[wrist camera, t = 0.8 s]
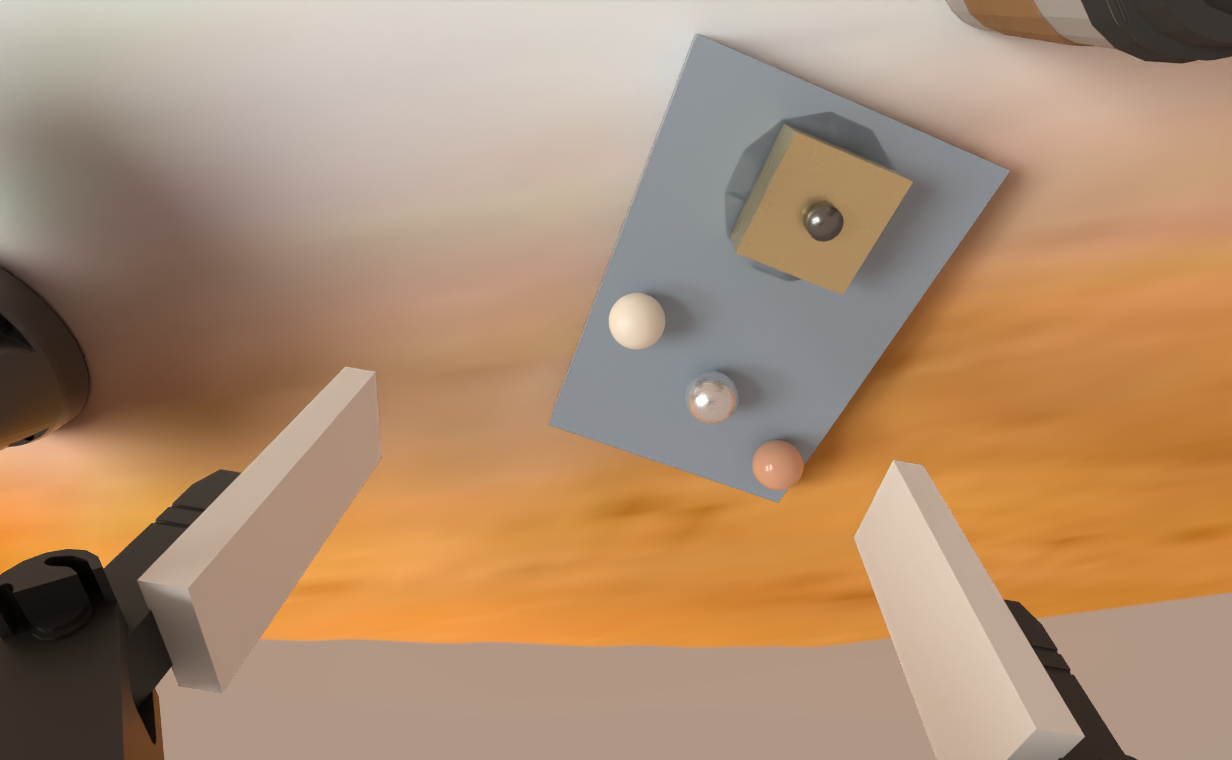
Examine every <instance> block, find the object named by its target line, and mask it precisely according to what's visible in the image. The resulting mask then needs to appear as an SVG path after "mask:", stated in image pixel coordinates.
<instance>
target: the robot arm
mask: <svg viewBox="0 0 1232 760" xmlns="http://www.w3.org/2000/svg"><path fill="white" fill-rule="evenodd" d="M88 391H89V379H88V372H87V368H86V364H85V362H84V359H83V356H82V354H81V351H80V349H79V347H78V345H77V344H76V342H75V340H74V338H73V337H72V335H71V334H70V332H69V331H68V329H67V328H66V326H65V325H64V324H63V322H62V321H61V320H60V319H59V317H58V316H57V315H56V314H55V313H54V312H53V311H52V309H51V308H50V307H49V306H48V305H47V304H46V303H45V302H44V301H43V300H42V299H41V298H40V297H39V296H38V295H36V294H35V293H34V292H33V291H32V290H31V289H29V288H28V287H27V286H26V285H25V284H23V283H22V282H21V281H19V280H18V279H17V278H15V277H14V276H12V275H11V274H10V273H8V272H6V271H5V270H3V269H2V268H0V450H2V449H5V448H7V447H12V446H19V445H24V444H27V443H31V442H34V441H36V440H39V439H41V438H43V437H45V436H47V435H49V434H50V433H52V432H54V431H55V430H57V429H58V428H60V427H61V426H63V425H64V424H66V423H68V422H69V421H71V420H72V419H73V418H75V417H76V416H77V415H78V414H79V413H80V412H81V410H82V409H83V407H84V405H85V403H86V401H87V397H88ZM381 458H382V457H381V442H380V427H379V412H378V398H377V383H376V372H375V371H369V370H363V369H357V368H352V367H346V366H345V367H344V368H343V369H342V370H341V371H340V372H339V373H338V374H337V375H336V376H335V377H334V378H333V379H332V380H331V381H330V383H329V384H328V385H327V386H326V387H325V388H324V389H323V390H322V391H321V392H320V393H319V394H318V395H317V396H316V397H315V398H314V399H313V400H312V401H311V402H310V403H309V404H308V405H307V406H306V407H305V408H304V409H303V410H302V411H301V412H300V413H299V414H298V415H297V416H296V417H295V418H294V420H293V421H292V422H291V423H290V424H289V425H288V426H287V427H286V428H285V429H284V430H283V431H282V432H281V433H280V434H279V435H278V436H277V437H276V438H275V439H274V440H273V441H272V442H271V443H270V444H269V445H268V446H267V447H266V448H265V449H264V450H263V451H262V452H261V453H260V454H259V455H258V457H257V458H256V459H255V460H254V461H253V462H252V463H251V464H250V465H249V466H248V467H247V468H246V469H245V470H244V471H243V472H242V473H239V472H233V471H227V470H221V469H220V470H218V471H216V472H215V473H213V474H211V475H209V476H207V477H205V478H203V479H202V480H200V481H198V482H196V483H194V484H193V485H192V486H190V487H189V488H188V489H187V490H186V491H185V492H184V493H183V494H182V495H181V496H180V497H179V498H178V499H177V500H176V501H175V502H174V503H173V505H172V507H168V508H167V509H166V510H165V511H164V512H163V513H162V514H161V515H160V516H159V517H158V518H157V519H156V522H155V523H151V524H150V525H149V526H148V527H147V528H146V529H145V530H144V531H143V532H142V533H141V534H140V535H139V536H138V537H137V538H135V539H134V540H133V541H132V542H131V543H130V544H129V545H128V546H127V547H126V548H125V549H124V550H123V551H122V552H121V553H120V554H119V555H118V556H116V557H115V558H114V559H113V560H112V561H111V562H110V563H109V564H108V565H107V566H106V567H105V568H104V569H103V567H102V565H101V562H100V560H99V558H98V556H96V555H94V554H92V553H90V552H88V551H86V550H74V549H65V550H59V551H53V552H48V553H44V554H41V555H38V556H36V557H33V558H30V559H28V560H25V561H22V562H21V563H19V564H17V565H16V566H14V567H12V568H11V569H9V570H7V571H5V572H4V573H2V574H1V575H0V760H164V752H163V741H162V729H161V718H160V706H159V697H158V694H157V692H156V689H155V687H156V685H157V684H158V683H159V681H160V680H161V679H162V678H163V676H164V675H165V674H166V673H167V671H168V670H169V669H170V668H171V667H172V670H173V672H174V675H175V677H176V680H177V682H178V685H179V686H181V687H187V688H193V689H200V690H205V691H212V692H218V693H223V692H224V690H225V689H226V688H227V686H228V685H229V683H230V682H231V680H232V679H233V677H234V676H235V674H236V673H237V671H238V670H239V668H240V667H241V665H242V664H243V662H244V661H245V659H246V658H247V656H248V655H249V653H250V652H251V650H252V649H253V648H254V646H255V645H256V643H257V642H258V640H259V639H260V637H261V636H262V634H263V633H264V631H265V630H266V628H267V627H268V625H269V624H270V622H271V621H272V619H273V618H274V616H275V615H276V614H277V612H278V611H279V609H280V608H281V606H282V605H283V603H284V602H285V600H286V599H287V597H288V596H289V594H290V593H291V591H292V590H293V588H294V587H295V585H296V584H297V582H298V581H299V579H300V578H301V577H302V575H303V574H304V572H305V571H306V569H307V568H308V566H309V565H310V563H311V562H312V560H313V559H314V557H315V556H316V554H317V553H318V551H319V550H320V548H321V547H322V545H323V544H324V542H325V541H326V540H327V538H328V537H329V535H330V534H331V532H332V531H333V529H334V528H335V526H336V525H337V523H338V522H339V520H340V519H341V517H342V516H343V514H344V513H345V511H346V510H347V508H348V507H349V505H350V504H351V503H352V501H353V500H354V498H355V497H356V495H357V494H358V492H359V491H360V489H361V488H362V486H363V485H364V483H365V482H366V480H367V479H368V477H369V476H370V474H371V473H372V471H373V470H374V468H375V467H376V466H377V464H378V463H379V461H380V460H381ZM854 540H855V542H856V545H857V548H858V550H859V553H860V556H861V558H862V561H863V564H864V566H865V569H866V572H867V574H868V577H869V580H870V583H871V585H872V588H873V591H874V593H875V596H876V599H877V601H878V604H879V607H880V609H881V612H882V615H883V617H884V620H885V623H886V626H887V628H888V631H889V634H890V636H891V639H892V642H893V644H894V647H895V649H896V652H897V655H898V658H899V660H900V663H901V666H902V668H903V671H904V674H905V676H906V679H907V682H908V685H909V687H910V690H911V692H912V695H913V698H914V701H915V703H916V706H917V709H918V711H919V714H920V717H921V719H922V722H923V725H924V727H925V730H926V733H927V736H928V738H929V741H930V743H931V746H932V749H933V752H934V754H935V757H936V760H1137V759H1135V758H1133V757H1131V756H1127V755H1125V754H1124V752H1123V751H1122V750H1121V748H1120V747H1119V745H1118V743H1117V742H1116V740H1115V739H1114V737H1113V736H1112V734H1111V733H1110V731H1109V729H1108V728H1107V726H1106V725H1105V723H1104V721H1103V720H1102V719H1101V717H1100V715H1099V714H1098V712H1097V710H1096V709H1095V707H1094V706H1093V704H1092V703H1091V701H1090V700H1089V698H1088V696H1087V695H1086V693H1085V692H1084V690H1083V689H1082V687H1081V685H1080V684H1079V682H1078V681H1077V679H1076V677H1075V676H1074V675H1071V673H1070V668H1069V666H1068V665H1067V663H1066V662H1065V660H1064V659H1063V657H1062V656H1061V654H1058V653H1057V648H1056V646H1055V644H1054V643H1053V641H1052V640H1051V638H1050V637H1049V635H1048V634H1047V632H1046V630H1045V629H1044V627H1043V626H1042V624H1041V623H1040V622H1039V621H1038V620H1037V619H1036V618H1035V617H1034V616H1033V615H1031V614H1030V613H1029V612H1028V611H1027V610H1026V609H1025V608H1024V607H1023V606H1022V605H1021V604H1020V603H1019V602H1016V601H1010V600H1004V599H1003V598H1002V597H1001V595H1000V593H999V592H998V590H997V588H996V587H995V585H994V583H993V581H992V580H991V578H990V576H989V575H988V573H987V571H986V570H985V568H984V566H983V565H982V563H981V561H980V560H979V558H978V556H977V555H976V553H975V551H974V550H973V548H972V546H971V545H970V543H969V541H968V540H967V538H966V536H965V535H964V533H963V531H962V530H961V528H960V526H959V524H958V523H957V521H956V519H955V518H954V516H953V514H952V513H951V511H950V509H949V508H948V506H947V504H946V503H945V501H944V499H943V498H942V496H941V494H940V493H939V491H938V489H937V488H936V486H935V484H934V483H933V481H932V479H931V478H930V476H929V474H928V473H927V471H926V469H925V467H924V466H923V465H919V464H914V463H908V462H902V461H896V460H893V462H892V464H891V465H890V467H889V469H888V471H887V473H886V475H885V477H884V479H883V481H882V483H881V485H880V487H879V489H878V491H877V493H876V495H875V497H874V499H873V501H872V503H871V505H870V507H869V509H868V511H867V513H866V515H865V517H864V519H863V521H862V523H861V525H860V527H859V529H858V531H857V532H856V534H855V536H854Z"/></svg>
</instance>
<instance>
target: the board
mask: <svg viewBox="0 0 1232 760" xmlns="http://www.w3.org/2000/svg"><path fill="white" fill-rule="evenodd" d="M784 123H785V124H787V125H789V126H792V127H794V128H796V129H799V130H801V131H803V132H806V133H808V134H811V135H813V136H815V137H818V138H820V139H822V140H825V141H827V142H829V143H832V144H834V145H836V146H839V147H841V148H843V149H846V150H848V151H850V152H853V153H855V154H857V155H860V156H862V157H864V158H867V159H869V160H872V161H874V162H876V163H879V164H881V165H883V166H886V167H888V168H890V169H892V170H894V171H896V172H897V173H899V174H901V175H903V176H904V177H906V178H908V179H909V180H911V181H913V183H912V184H911V186H910V188H909V189H908V191H907V193H906V194H905V196H904V197H903V199H902V201H901V202H900V204H899V205H898V207H897V209H896V210H895V212H894V214H893V215H892V217H891V218H890V220H889V222H888V223H887V225H886V226H885V228H884V230H883V231H882V233H881V235H880V236H879V238H878V239H877V241H876V243H875V244H874V246H873V247H872V249H871V251H870V252H869V254H868V255H867V257H866V259H865V260H864V262H863V264H862V265H861V267H860V268H859V270H858V272H857V273H856V275H855V276H854V278H853V280H852V281H851V283H850V285H849V286H848V288H847V289H846V291H845V293H844V294H843V295H841V294H839V293H836V292H834V291H831V290H828V289H826V288H823V287H821V286H818V285H816V284H813V283H811V282H808V281H805V280H803V279H800V278H798V277H795V276H793V275H790V274H788V273H785V272H783V271H780V270H777V269H775V268H772V267H770V266H767V265H765V264H762V263H760V262H757V261H755V260H752V259H749V258H747V257H744V256H742V255H739V254H737V253H735V250H734V246H733V243H732V240H731V237H730V234H731V232H732V230H733V228H734V226H735V224H736V222H737V219H738V217H739V215H740V213H741V211H742V209H743V207H744V205H745V203H746V201H747V199H748V197H749V195H750V192H751V190H752V188H753V186H754V184H755V182H756V180H757V178H758V176H759V174H760V172H761V170H762V168H763V165H764V163H765V161H766V159H767V157H768V155H769V153H770V151H771V149H772V147H773V145H774V143H775V141H776V138H777V136H778V134H779V132H780V130H781V128H782V126H783V124H784ZM1009 172H1010V170H1008V169H1006V168H1003V167H1001V166H999V165H996V164H994V163H992V162H990V161H987V160H985V159H983V158H980V157H978V156H976V155H974V154H971V153H969V152H967V151H964V150H962V149H960V148H958V147H955V146H953V145H951V144H948V143H946V142H944V141H942V140H939V139H937V138H935V137H933V136H930V135H928V134H926V133H923V132H921V131H919V130H917V129H914V128H912V127H910V126H907V125H905V124H903V123H901V122H898V121H896V120H894V119H891V118H889V117H887V116H885V115H882V114H880V113H878V112H875V111H873V110H871V109H869V108H866V107H864V106H862V105H859V104H857V103H855V102H853V101H850V100H848V99H846V98H843V97H841V96H839V95H837V94H834V93H832V92H830V91H827V90H825V89H823V88H821V87H818V86H816V85H814V84H811V83H809V82H807V81H805V80H802V79H800V78H798V77H795V76H793V75H791V74H789V73H786V72H784V71H782V70H779V69H777V68H775V67H773V66H770V65H768V64H766V63H763V62H761V61H759V60H757V59H754V58H752V57H750V56H747V55H745V54H743V53H741V52H738V51H736V50H734V49H731V48H729V47H727V46H725V45H722V44H720V43H718V42H715V41H713V40H711V39H709V38H706V37H704V36H702V35H699V34H695V36H694V38H693V41H692V44H691V46H690V49H689V51H688V54H687V57H686V59H685V62H684V65H683V67H682V70H681V73H680V75H679V78H678V81H677V83H676V86H675V88H674V91H673V94H672V96H671V99H670V102H669V104H668V107H667V110H666V112H665V115H664V117H663V120H662V123H661V125H660V128H659V131H658V133H657V136H656V139H655V141H654V144H653V147H652V149H651V152H650V154H649V157H648V160H647V162H646V165H645V168H644V170H643V173H642V176H641V178H640V181H639V183H638V186H637V189H636V191H635V194H634V197H633V199H632V202H631V205H630V207H629V210H628V213H627V215H626V218H625V220H624V223H623V226H622V228H621V231H620V234H619V236H618V239H617V242H616V244H615V247H614V249H613V252H612V255H611V257H610V260H609V263H608V265H607V268H606V271H605V273H604V276H603V279H602V281H601V284H600V286H599V289H598V292H597V294H596V297H595V300H594V302H593V305H592V308H591V310H590V313H589V315H588V318H587V321H586V323H585V326H584V329H583V331H582V334H581V337H580V339H579V342H578V345H577V347H576V350H575V352H574V355H573V358H572V360H571V363H570V366H569V368H568V371H567V374H566V376H565V379H564V381H563V384H562V387H561V389H560V392H559V395H558V397H557V400H556V403H555V405H554V409H553V412H552V416H551V419H550V422H549V425H551V426H553V427H556V428H559V429H562V430H565V431H568V432H571V433H574V434H577V435H580V436H583V437H586V438H589V439H592V440H595V441H598V442H601V443H603V444H606V445H609V446H612V447H615V448H618V449H621V450H624V451H627V452H630V453H633V454H636V455H639V456H642V457H645V458H648V459H651V460H653V461H656V462H659V463H662V464H665V465H668V466H671V467H674V468H677V469H680V470H683V471H686V472H689V473H692V474H695V475H698V476H701V477H703V478H706V479H709V480H712V481H715V482H718V483H721V484H724V485H727V486H730V487H733V488H736V489H739V490H742V491H745V492H748V493H751V494H753V495H756V496H759V497H762V498H765V499H768V500H771V501H774V502H777V503H779V501H780V500H781V498H782V497H783V495H784V494H785V493H786V491H787V490H788V489H785V490H772V489H769V488H767V487H765V486H763V485H762V484H761V483H760V482H759V481H758V480H757V479H756V477H755V475H754V473H753V470H752V458H753V455H754V453H755V451H756V450H757V449H758V447H759V446H761V445H762V444H763V443H765V442H768V441H771V440H783V441H786V442H788V443H790V444H792V445H793V446H794V447H796V448H797V450H798V451H799V452H800V454H801V456H802V459H803V464H804V465H805V464H806V463H807V461H808V460H809V458H810V457H811V455H812V454H813V453H814V451H815V450H816V448H817V447H818V445H819V444H820V442H821V441H822V440H823V438H824V437H825V435H826V434H827V432H828V431H829V430H830V428H831V427H832V425H833V424H834V422H835V421H836V420H837V418H838V417H839V415H840V414H841V412H842V411H843V410H844V408H845V407H846V405H847V404H848V402H849V401H850V400H851V398H852V397H853V395H854V394H855V392H856V391H857V390H858V388H859V387H860V385H861V384H862V382H863V381H864V379H865V378H866V377H867V375H868V374H869V372H870V371H871V369H872V368H873V367H874V365H875V364H876V362H877V361H878V359H879V358H880V357H881V355H882V354H883V352H884V351H885V349H886V348H887V347H888V345H889V344H890V342H891V341H892V339H893V338H894V337H895V335H896V334H897V332H898V331H899V329H900V328H901V327H902V325H903V324H904V322H905V321H906V319H907V318H908V316H909V315H910V314H911V312H912V311H913V309H914V308H915V306H916V305H917V304H918V302H919V301H920V299H921V298H922V296H923V295H924V294H925V292H926V291H927V289H928V288H929V286H930V285H931V284H932V282H933V281H934V279H935V278H936V276H937V275H938V274H939V272H940V271H941V269H942V268H943V266H944V265H945V264H946V262H947V261H948V259H949V258H950V256H951V255H952V253H953V252H954V251H955V249H956V248H957V246H958V245H959V243H960V242H961V241H962V239H963V238H964V236H965V235H966V233H967V232H968V231H969V229H970V228H971V226H972V225H973V223H974V222H975V221H976V219H977V218H978V216H979V215H980V213H981V212H982V211H983V209H984V208H985V206H986V205H987V203H988V202H989V201H990V199H991V198H992V196H993V195H994V193H995V192H996V190H997V189H998V188H999V186H1000V185H1001V183H1002V182H1003V180H1004V179H1005V178H1006V176H1007V175H1008V173H1009ZM630 293H644V294H647V295H649V296H651V297H653V298H654V299H655V300H657V301H658V302H659V304H660V305H661V307H662V309H663V311H664V314H665V328H664V331H663V333H662V335H661V337H660V338H659V340H658V341H657V342H656V343H654V344H653V345H651V346H650V347H647V348H644V349H638V350H636V349H629V348H627V347H624V346H622V345H621V344H620V343H618V342H617V341H616V340H615V338H614V337H613V335H612V334H611V331H610V328H609V315H610V311H611V309H612V307H613V305H614V304H615V303H616V302H617V301H618V300H619V299H620V298H621V297H623V296H625V295H627V294H630ZM707 371H716V372H720V373H723V374H725V375H727V376H728V377H729V378H730V379H731V380H732V381H733V382H734V384H735V385H736V387H737V390H738V395H739V400H738V405H737V408H736V410H735V412H734V413H733V415H732V416H731V417H730V418H728V419H727V420H725V421H724V422H721V423H718V424H706V423H703V422H700V421H698V420H697V419H695V418H694V417H693V416H692V415H691V414H690V412H689V411H688V409H687V406H686V403H685V392H686V388H687V386H688V384H689V383H690V381H691V380H692V379H693V378H694V377H695V376H697V375H699V374H700V373H703V372H707Z"/></svg>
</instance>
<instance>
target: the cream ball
mask: <svg viewBox="0 0 1232 760" xmlns="http://www.w3.org/2000/svg"><path fill="white" fill-rule="evenodd" d="M609 328H610V331H611V334H612V335H613V337H614V338H615V340H616V341H617V342H618V343H620V344H621V345H622V346H624V347H627V348H629V349H636V350H638V349H644V348H647V347H650V346H651V345H653V344H654V343H656V342H657V341H658V340H659V338H660V337H661V335H662V333H663V331H664V328H665V314H664V311H663V309H662V307H661V305H660V304H659V302H658V301H657V300H655V299H654V298H653V297H651V296H649V295H647V294H644V293H630V294H627V295H625V296H623V297H621V298H620V299H619V300H618V301H617V302H616V303H615V304H614V305H613V307H612V309H611V311H610V315H609Z"/></svg>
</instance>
